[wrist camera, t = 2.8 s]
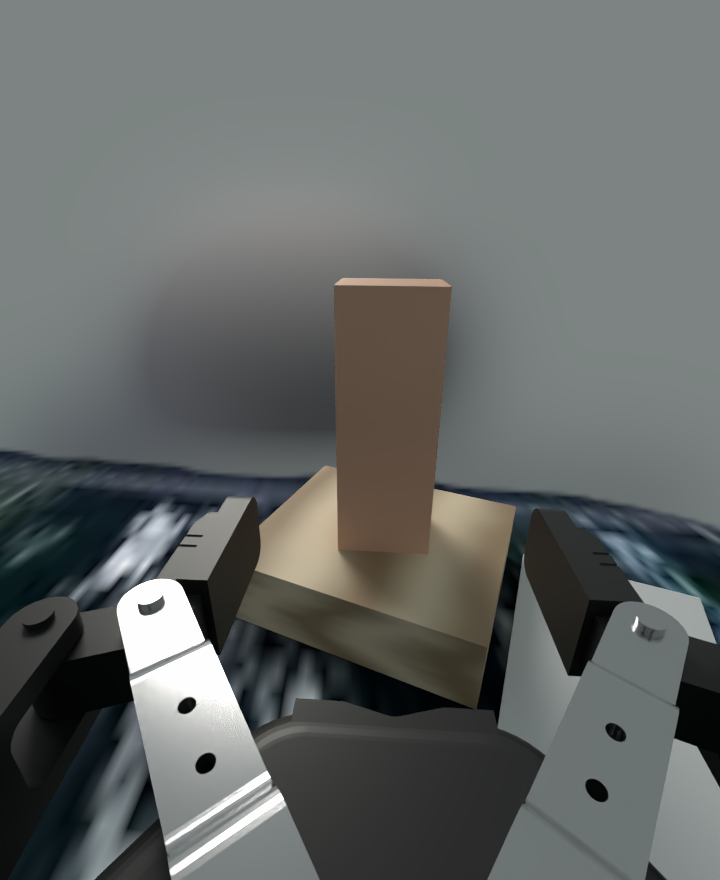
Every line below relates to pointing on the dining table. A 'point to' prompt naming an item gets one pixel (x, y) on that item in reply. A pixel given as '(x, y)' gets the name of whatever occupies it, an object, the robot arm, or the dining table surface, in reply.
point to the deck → (386, 589)
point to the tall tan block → (388, 409)
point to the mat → (548, 695)
